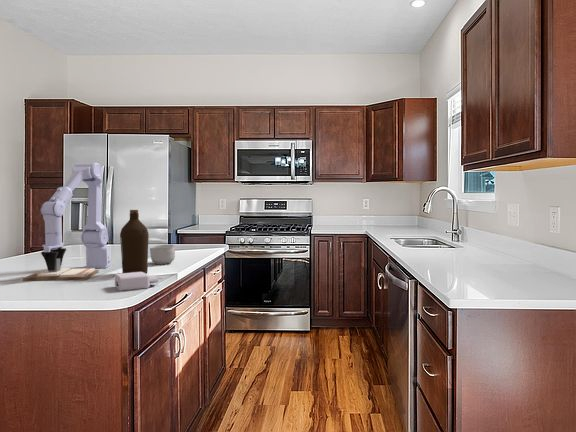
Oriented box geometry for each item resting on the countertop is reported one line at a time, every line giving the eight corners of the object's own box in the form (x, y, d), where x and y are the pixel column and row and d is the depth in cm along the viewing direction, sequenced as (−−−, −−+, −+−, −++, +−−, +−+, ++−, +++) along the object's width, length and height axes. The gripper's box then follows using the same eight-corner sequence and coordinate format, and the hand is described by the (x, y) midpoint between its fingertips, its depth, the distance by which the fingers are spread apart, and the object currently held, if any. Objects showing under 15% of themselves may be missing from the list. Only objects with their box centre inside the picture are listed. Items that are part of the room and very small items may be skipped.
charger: (166, 287, 168) (120, 292, 160) (158, 282, 176) (114, 287, 168) (165, 273, 167) (120, 277, 160) (158, 269, 175) (114, 273, 168)
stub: (70, 269, 194) (70, 256, 193) (57, 276, 180) (57, 261, 180) (51, 270, 193) (51, 256, 193) (37, 276, 179) (37, 262, 179)
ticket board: (98, 272, 196) (98, 269, 196) (85, 279, 180) (85, 277, 180) (40, 273, 194) (40, 270, 194) (22, 280, 178) (22, 278, 178)
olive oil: (151, 271, 199) (151, 209, 197) (145, 275, 188) (144, 210, 187) (125, 271, 198) (124, 209, 197) (117, 276, 188) (115, 210, 186)
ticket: (94, 270, 195) (94, 268, 195) (83, 276, 181) (83, 274, 181) (71, 270, 194) (71, 268, 194) (58, 277, 180) (58, 274, 180)
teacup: (171, 265, 214) (171, 247, 213) (146, 265, 214) (146, 247, 214) (179, 260, 228) (179, 243, 227) (155, 260, 228) (155, 243, 227)
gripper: (49, 231, 192) (50, 266, 193) (34, 235, 178) (35, 272, 179) (68, 231, 193) (69, 265, 194) (54, 234, 179) (55, 271, 179)
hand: (54, 268), depth 186 cm, fingers open, 6 cm apart
